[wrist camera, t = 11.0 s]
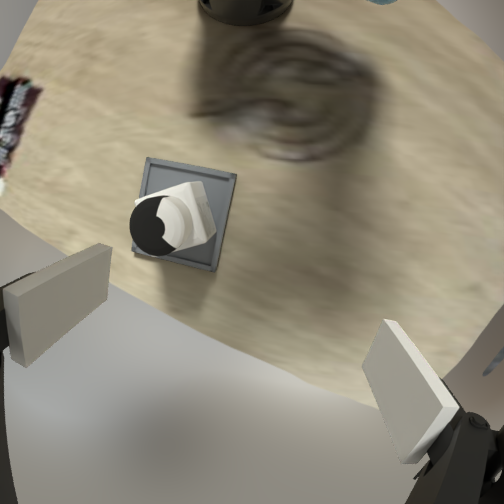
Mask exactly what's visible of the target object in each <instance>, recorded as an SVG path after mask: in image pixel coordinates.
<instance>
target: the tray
mask: <svg viewBox="0 0 504 504" xmlns="http://www.w3.org/2000/svg"><path fill="white" fill-rule="evenodd" d="M236 176H237V174H234V173H229V172H224V171H220V170H215V169H210V168H205V167H200V166H194V165H189V164H184V163H178V162H173V161H167V160H161V159H156V158H150V157H147V158H146V163H145V168H144V173H143V178H142V184H141V189H140V195H139V198H142V197H145V196H148V195H150V194H153V193H156V192H159V191H162V190H165V189H168V188H171V187H174V186H177V185H180V184H183V183H186V182H196V181H201V182H202V183H203V186H204V189H205V193H206V196H207V200H208V203H209V206H210V210H211V213H212V216H213V220H214V223H215V227H216V230H217V231H216V233H215V234H214V235H213V236H212V237H211V238H210V239H209V240H208V241H207V242H206V243H204V244H200V245H196V246H193V247H189V248H186V249H182V250H178V251H175V252H171V253H170V254H167V255H164V256H157V257H155V258H159V259H163V260H167V261H171V262H175V263H179V264H183V265H187V266H191V267H195V268H199V269H203V270H207V271H211V272H215V271H216V269H217V264H218V259H219V254H220V249H221V245H222V240H223V235H224V230H225V226H226V221H227V216H228V212H229V207H230V203H231V198H232V194H233V189H234V185H235V180H236ZM131 251H132V252H136V253H140V254H144V255H148V256H151V255H149V254H147V253H145V252H143V251H142V250H141V249H140V248H139V247H138V246H137V245H136V244H135V242H134V241H133V242H132V250H131Z"/></svg>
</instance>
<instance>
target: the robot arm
mask: <svg viewBox="0 0 504 504" xmlns="http://www.w3.org/2000/svg"><path fill="white" fill-rule="evenodd" d="M199 1H200V3H201V6H202V7H203V9H204V10H205V11H206V13H207V14H209V15H210V16H211V17H213V18H214V19H216V20H218V21H220V22H223V23H227V24H231V25H239V26H247V25H256V24H261V23H264V22H267V21H270V20H272V19H274V18H276V17H278V16H279V15H281V14H282V13H283V12H284V11H285V10H286V9H287V8H288V7H289V6H290V4H291V2H292V0H199ZM367 1H370V2H373V3H375V4H379V5H384V4H391V3H393V2H395V1H397V0H367ZM111 255H112V247H110V246H107V245H104V244H101V243H98V244H96V245H94V246H91V247H89V248H87V249H85V250H82V251H80V252H78V253H76V254H73V255H71V256H69V257H67V258H65V259H63V260H60V261H58V262H56V263H54V264H52V265H50V266H48V267H46V268H44V269H41V270H40V271H37V272H33V273H29V274H26V275H24V276H22V277H20V279H19V278H18V279H16V280H14V281H13V282H10V283H8V284H6V285H4V286H2V287H0V504H18V501H17V497H16V492H15V487H14V482H13V477H12V472H11V466H10V459H9V452H8V445H7V435H6V424H5V411H4V410H5V409H4V355H3V350H4V349H5V348H6V347H8V346H9V348H10V354H11V359H12V360H14V361H15V362H17V363H19V364H20V365H22V366H23V367H25V368H27V367H28V366H29V365H30V364H32V363H33V362H34V361H35V360H36V359H37V358H38V357H40V355H42V354H43V353H44V352H45V351H46V350H47V349H49V348H50V347H51V346H52V345H53V344H54V343H56V342H57V341H58V340H59V339H60V338H61V337H63V336H64V335H65V334H66V333H67V332H68V331H70V330H71V329H72V328H73V327H74V326H76V325H77V324H78V323H79V322H80V321H82V320H83V319H84V318H85V317H86V316H88V315H89V314H90V313H91V312H92V311H94V310H95V309H96V308H97V307H99V306H100V305H101V304H102V303H103V302H105V301H106V300H107V295H108V283H109V273H110V263H111ZM362 368H363V370H364V373H365V375H366V378H367V380H368V382H369V385H370V387H371V389H372V392H373V394H374V397H375V399H376V402H377V404H378V407H379V409H380V411H381V414H382V416H383V419H384V421H385V424H386V426H387V429H388V432H389V434H390V437H391V439H392V442H393V445H394V447H395V450H396V452H397V455H398V458H399V461H400V463H401V464H414V463H418V462H419V461H420V460H421V458H422V457H423V456H424V455H425V454H426V452H427V453H428V455H429V458H430V460H429V461H428V462H427V463H426V464H425V466H424V467H423V468H422V469H421V470H420V471H419V472H418V473H417V475H416V476H415V477H414V478H413V479H416V478H417V477H419V478H418V480H417V482H416V484H415V486H414V488H413V490H412V491H411V493H410V495H409V497H408V499H407V501H406V503H405V504H504V425H503V427H502V428H501V429H500V431H495V430H491V429H490V425H489V423H488V422H487V421H486V420H485V419H484V418H483V417H482V416H480V415H478V414H476V413H473V412H467V413H466V412H465V411H464V409H463V408H462V406H461V405H460V403H459V402H458V401H457V399H456V398H455V396H453V393H452V392H451V391H450V390H449V388H448V386H447V385H446V384H445V382H444V381H443V380H442V379H441V378H440V377H438V376H437V374H436V373H435V372H434V370H433V369H432V368H431V366H430V365H429V364H428V362H427V361H426V359H425V358H424V357H423V355H422V354H421V353H420V351H419V350H418V349H417V348H416V346H415V345H414V344H413V342H412V341H411V340H410V338H409V337H408V336H407V334H406V333H405V332H404V331H403V329H402V328H401V327H400V325H399V324H398V323H397V322H396V321H392V320H388V319H383V320H382V323H381V325H380V327H379V330H378V332H377V334H376V336H375V339H374V341H373V343H372V345H371V347H370V350H369V352H368V354H367V356H366V358H365V360H364V362H363V364H362ZM501 470H502V473H501V476H500V478H499V479H498V481H496V482H495V477H496V476H497V474H498V473H499V472H500V471H501Z"/></svg>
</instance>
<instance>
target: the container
mask: <svg viewBox="0 0 504 504" xmlns="http://www.w3.org/2000/svg"><path fill="white" fill-rule="evenodd" d="M135 206H136V207H135V209H134V210H133V212H132V214H131V218H130V233H131V236H132V239H133V241H134V242H135V244H136V245H137V246H138V247H139V248H140V249H141V250H142V251H143V252H145V253H147V254H149V255H151V256H152V257H157V256H164V255H167V254H170V253H171V252H175V251H178V250H182V249H186V248H189V247H193V246H196V245H200V244H204V243H206V242H207V241H208V240H209V239H210V238H211V237H212V236H213V235H214V234H215V233H216V231H217V230H216V227H215V223H214V220H213V216H212V213H211V210H210V206H209V203H208V200H207V196H206V193H205V189H204V186H203V183H202V182H201V181H196V182H186V183H183V184H180V185H177V186H174V187H171V188H168V189H165V190H162V191H159V192H156V193H153V194H150V195H148V196H145V197H142V198H139V199H137V200H135Z"/></svg>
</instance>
